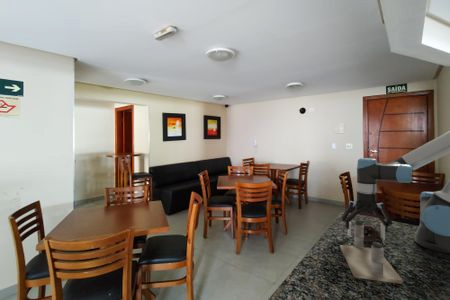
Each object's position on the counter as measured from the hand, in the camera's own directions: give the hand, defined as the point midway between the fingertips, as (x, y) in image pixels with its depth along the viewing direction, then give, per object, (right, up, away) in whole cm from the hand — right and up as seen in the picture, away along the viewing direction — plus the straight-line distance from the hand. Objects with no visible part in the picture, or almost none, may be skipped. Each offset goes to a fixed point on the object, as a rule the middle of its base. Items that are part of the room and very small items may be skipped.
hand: (365, 237), depth 101 cm
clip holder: (-12, -2, -18) cm, 22 cm away
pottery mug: (+1, -2, 0) cm, 2 cm away
